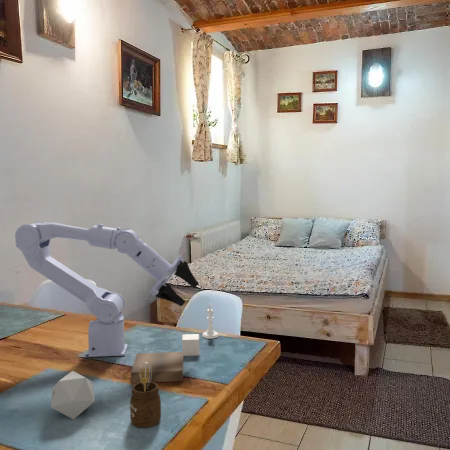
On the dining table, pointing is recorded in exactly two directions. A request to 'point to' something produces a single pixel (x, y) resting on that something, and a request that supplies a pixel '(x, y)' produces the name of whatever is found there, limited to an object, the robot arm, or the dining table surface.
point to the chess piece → (210, 326)
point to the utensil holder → (145, 402)
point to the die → (72, 395)
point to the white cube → (190, 344)
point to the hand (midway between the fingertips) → (190, 294)
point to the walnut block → (158, 367)
